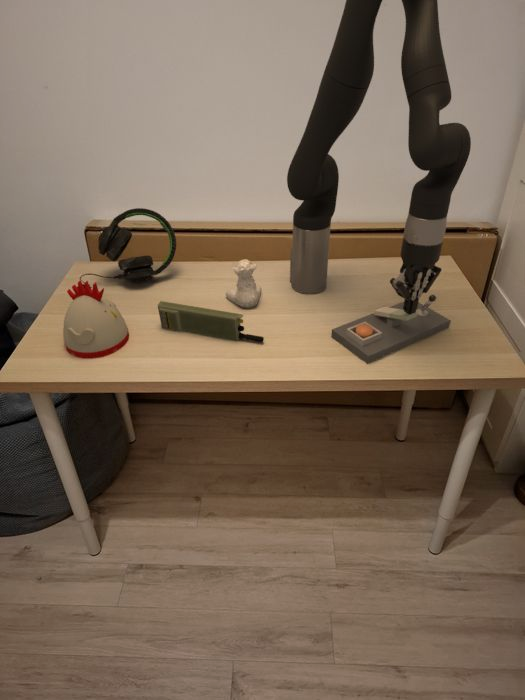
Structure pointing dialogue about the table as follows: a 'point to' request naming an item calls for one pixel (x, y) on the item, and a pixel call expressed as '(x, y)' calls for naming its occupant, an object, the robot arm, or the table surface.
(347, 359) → the table surface
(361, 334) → the button
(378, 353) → the panel
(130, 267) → the headset
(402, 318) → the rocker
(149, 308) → the table surface
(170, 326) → the handheld radio
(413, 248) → the robot arm
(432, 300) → the lever
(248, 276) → the sitting furry creature
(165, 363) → the table surface
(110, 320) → the kitchen timer
